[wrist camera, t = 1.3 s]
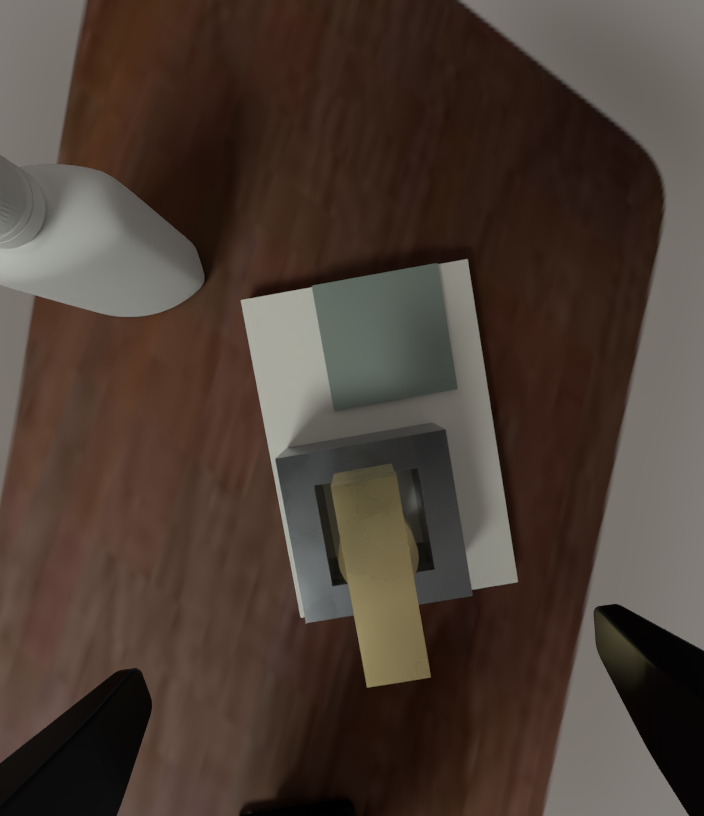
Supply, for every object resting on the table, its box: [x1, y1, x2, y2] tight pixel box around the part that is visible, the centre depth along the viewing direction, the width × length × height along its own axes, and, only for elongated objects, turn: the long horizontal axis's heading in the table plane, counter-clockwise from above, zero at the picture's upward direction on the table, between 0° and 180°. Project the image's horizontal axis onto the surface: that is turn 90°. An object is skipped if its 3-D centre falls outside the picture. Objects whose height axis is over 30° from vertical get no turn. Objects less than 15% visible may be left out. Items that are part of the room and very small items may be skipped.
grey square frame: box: [275, 422, 473, 623], centre depth 19 cm, size 7×7×3 cm
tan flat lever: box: [331, 464, 431, 688], centre depth 16 cm, size 6×3×8 cm, turn 10°
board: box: [241, 259, 518, 618], centre depth 21 cm, size 16×11×1 cm
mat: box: [312, 263, 458, 411], centre depth 20 cm, size 6×6×1 cm
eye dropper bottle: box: [0, 155, 204, 317], centre depth 15 cm, size 4×6×12 cm
